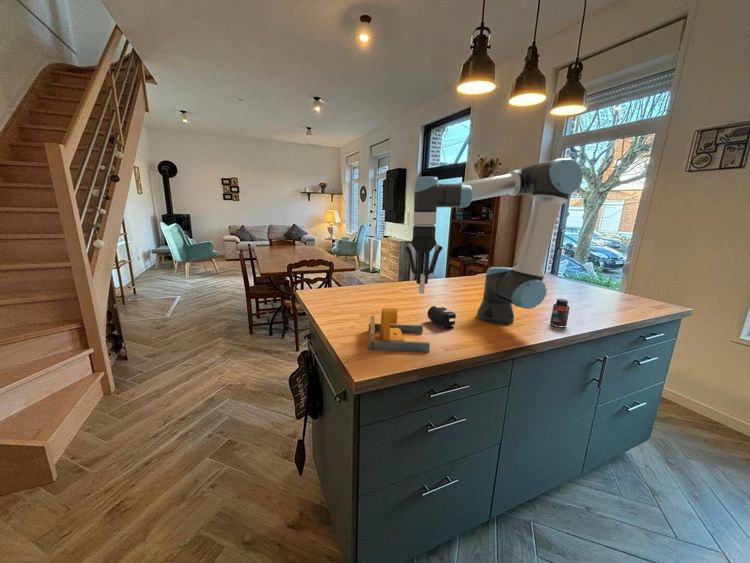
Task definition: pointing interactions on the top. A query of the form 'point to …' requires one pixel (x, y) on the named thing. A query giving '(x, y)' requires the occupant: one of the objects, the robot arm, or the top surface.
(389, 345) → the rail
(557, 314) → the supplement bottle
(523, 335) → the top surface
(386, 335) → the bracket
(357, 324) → the top surface
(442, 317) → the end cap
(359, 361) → the top surface
